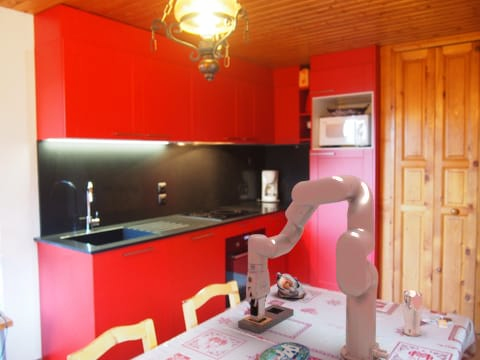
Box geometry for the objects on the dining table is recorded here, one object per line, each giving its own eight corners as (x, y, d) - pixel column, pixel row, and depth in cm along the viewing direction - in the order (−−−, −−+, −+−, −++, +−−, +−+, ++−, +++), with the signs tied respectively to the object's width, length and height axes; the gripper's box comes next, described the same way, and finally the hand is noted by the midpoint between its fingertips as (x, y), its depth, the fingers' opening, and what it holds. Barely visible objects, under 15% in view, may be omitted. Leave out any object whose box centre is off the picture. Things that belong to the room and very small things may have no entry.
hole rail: (293, 316, 165) (293, 308, 165) (259, 335, 147) (259, 327, 147) (273, 311, 172) (273, 303, 172) (238, 328, 153) (238, 320, 153)
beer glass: (410, 337, 145) (411, 297, 144) (398, 330, 151) (398, 291, 151) (426, 335, 147) (427, 295, 146) (413, 328, 153) (414, 289, 153)
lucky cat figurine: (311, 297, 188) (306, 275, 182) (290, 310, 185) (284, 288, 178) (293, 280, 201) (288, 259, 194) (273, 292, 197) (267, 271, 191)
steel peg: (264, 319, 155) (264, 296, 154) (258, 322, 152) (258, 299, 151) (256, 317, 157) (256, 294, 157) (250, 320, 154) (250, 297, 154)
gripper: (252, 273, 145) (252, 322, 146) (278, 264, 158) (277, 309, 159) (236, 269, 150) (236, 317, 150) (262, 261, 163) (262, 305, 163)
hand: (257, 313), depth 154 cm, fingers closed on steel peg, 4 cm apart
